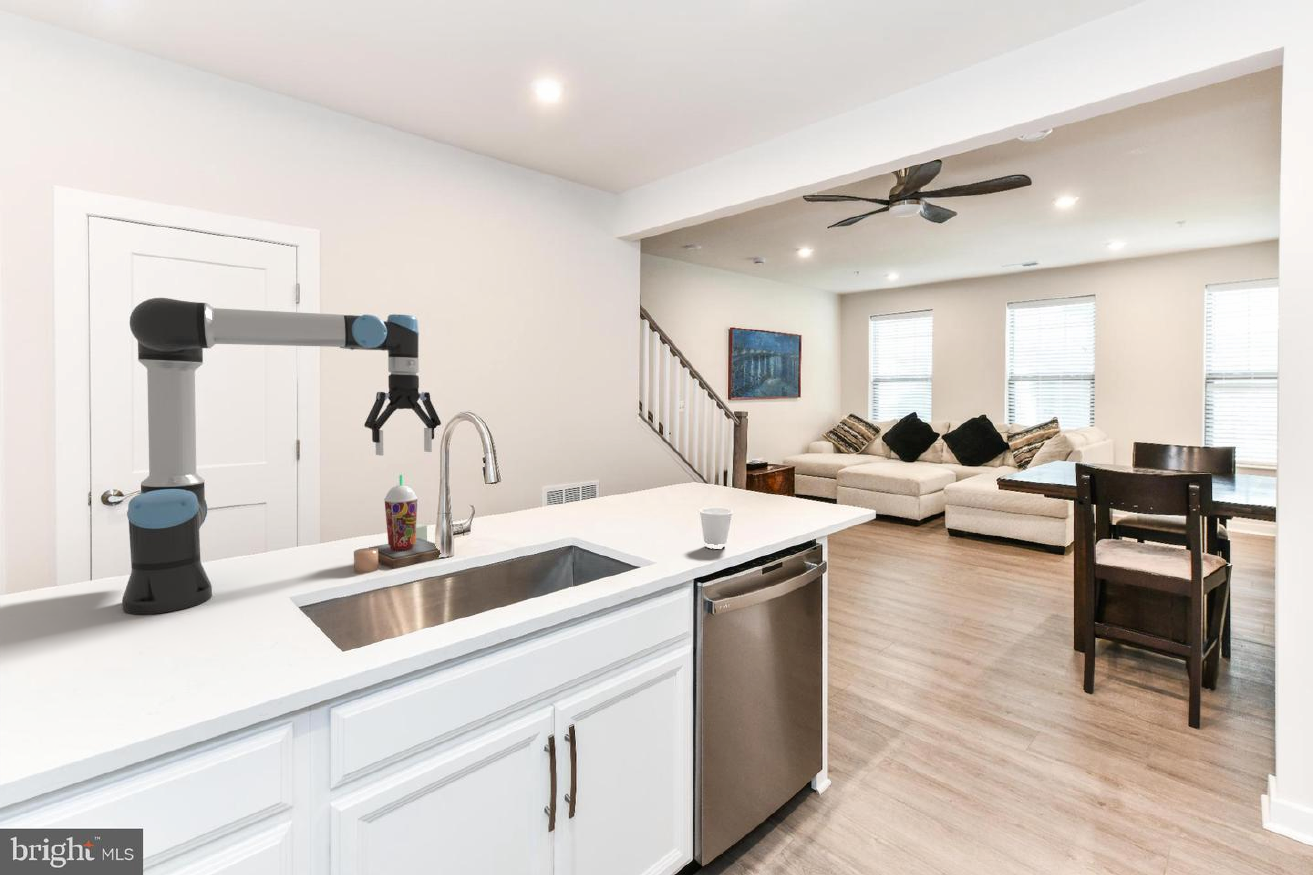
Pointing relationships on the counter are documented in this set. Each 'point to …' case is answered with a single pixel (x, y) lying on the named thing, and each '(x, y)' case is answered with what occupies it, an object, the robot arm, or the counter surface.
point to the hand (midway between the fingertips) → (404, 453)
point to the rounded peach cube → (366, 560)
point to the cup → (715, 524)
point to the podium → (407, 554)
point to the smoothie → (401, 517)
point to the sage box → (421, 531)
